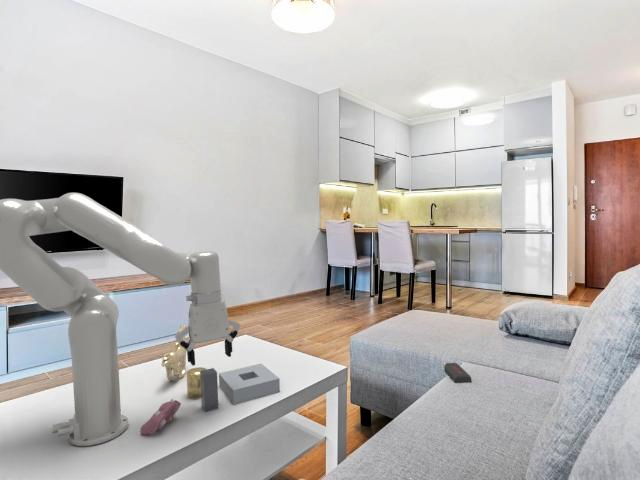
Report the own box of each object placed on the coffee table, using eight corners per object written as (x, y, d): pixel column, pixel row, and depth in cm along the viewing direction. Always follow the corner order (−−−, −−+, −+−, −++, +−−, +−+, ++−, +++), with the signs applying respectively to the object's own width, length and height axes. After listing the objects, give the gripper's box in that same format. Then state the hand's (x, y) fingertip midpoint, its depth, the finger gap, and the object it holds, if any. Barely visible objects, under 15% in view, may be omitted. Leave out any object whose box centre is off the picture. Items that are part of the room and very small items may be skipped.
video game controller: (152, 443, 89) (163, 419, 88) (137, 433, 89) (147, 409, 88) (176, 421, 98) (186, 399, 97) (162, 412, 99) (172, 390, 98)
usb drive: (454, 384, 114) (454, 375, 114) (440, 368, 126) (440, 360, 126) (471, 383, 114) (471, 375, 114) (456, 368, 126) (456, 360, 126)
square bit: (205, 412, 100) (203, 375, 99) (201, 406, 103) (200, 370, 102) (218, 408, 101) (217, 372, 101) (214, 403, 105) (213, 368, 104)
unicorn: (170, 392, 111) (168, 336, 111) (157, 393, 111) (155, 336, 111) (193, 366, 131) (192, 318, 131) (182, 367, 131) (180, 318, 131)
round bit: (189, 400, 106) (188, 376, 106) (185, 393, 111) (184, 370, 111) (209, 395, 109) (208, 372, 109) (204, 388, 114) (204, 366, 114)
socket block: (233, 404, 103) (233, 390, 103) (219, 385, 115) (218, 373, 115) (279, 391, 111) (279, 378, 110) (261, 375, 123) (261, 363, 122)
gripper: (175, 305, 93) (180, 372, 94) (242, 294, 102) (246, 356, 103) (170, 300, 99) (174, 363, 100) (233, 290, 108) (237, 348, 109)
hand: (210, 359), depth 102 cm, fingers open, 9 cm apart
